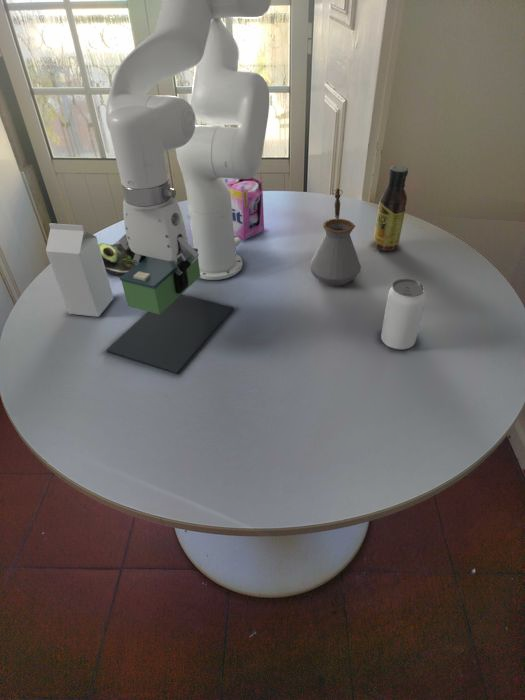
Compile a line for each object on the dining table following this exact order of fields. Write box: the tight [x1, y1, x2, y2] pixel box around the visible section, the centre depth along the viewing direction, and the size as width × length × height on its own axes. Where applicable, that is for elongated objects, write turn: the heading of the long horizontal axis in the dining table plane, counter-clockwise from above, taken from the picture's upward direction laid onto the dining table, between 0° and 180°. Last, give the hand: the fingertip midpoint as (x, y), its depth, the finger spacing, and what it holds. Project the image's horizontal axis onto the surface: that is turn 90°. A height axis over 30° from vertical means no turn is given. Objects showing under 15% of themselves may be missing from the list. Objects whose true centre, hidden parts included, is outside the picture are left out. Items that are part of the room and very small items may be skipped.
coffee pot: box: [309, 188, 362, 287], centre depth 107 cm, size 21×12×15 cm, turn 174°
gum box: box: [223, 177, 265, 241], centre depth 126 cm, size 24×8×14 cm, turn 45°
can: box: [380, 278, 426, 351], centre depth 86 cm, size 6×6×12 cm
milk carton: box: [45, 222, 114, 318], centre depth 95 cm, size 7×7×19 cm
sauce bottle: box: [373, 164, 409, 252], centre depth 112 cm, size 7×6×20 cm
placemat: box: [106, 293, 234, 375], centre depth 94 cm, size 22×16×1 cm
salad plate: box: [98, 240, 136, 278], centre depth 117 cm, size 19×18×5 cm
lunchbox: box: [119, 247, 200, 315], centre depth 86 cm, size 6×7×14 cm
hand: (164, 284), depth 88 cm, fingers closed on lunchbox, 7 cm apart
